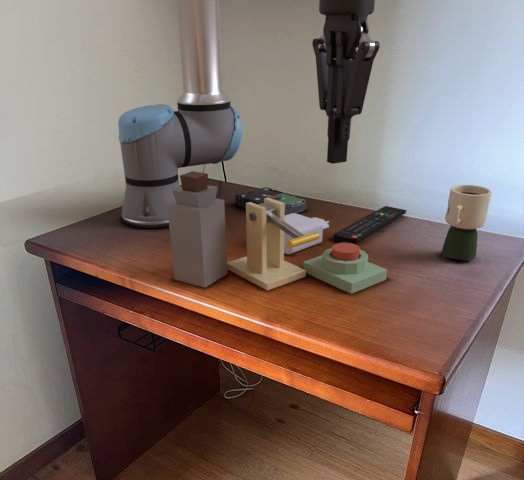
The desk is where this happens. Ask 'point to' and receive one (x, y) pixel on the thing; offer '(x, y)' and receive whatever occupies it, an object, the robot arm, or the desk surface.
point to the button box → (345, 271)
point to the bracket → (265, 250)
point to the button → (345, 251)
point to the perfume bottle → (197, 231)
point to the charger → (304, 230)
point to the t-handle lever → (287, 228)
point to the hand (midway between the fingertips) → (336, 161)
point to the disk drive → (257, 197)
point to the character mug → (465, 220)
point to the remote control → (368, 225)
